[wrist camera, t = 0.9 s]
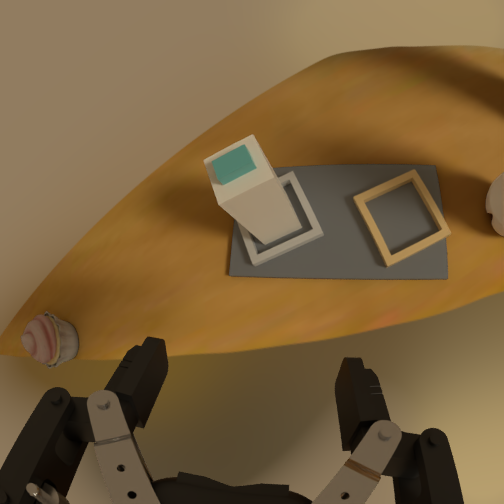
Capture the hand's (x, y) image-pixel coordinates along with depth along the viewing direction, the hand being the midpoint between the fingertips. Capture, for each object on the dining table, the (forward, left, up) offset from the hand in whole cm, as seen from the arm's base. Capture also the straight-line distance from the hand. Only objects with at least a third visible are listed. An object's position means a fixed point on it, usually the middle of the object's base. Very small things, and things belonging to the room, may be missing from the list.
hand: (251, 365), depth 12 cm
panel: (-13, +3, -18) cm, 23 cm away
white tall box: (-13, -4, -18) cm, 22 cm away
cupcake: (+6, -38, -19) cm, 43 cm away
